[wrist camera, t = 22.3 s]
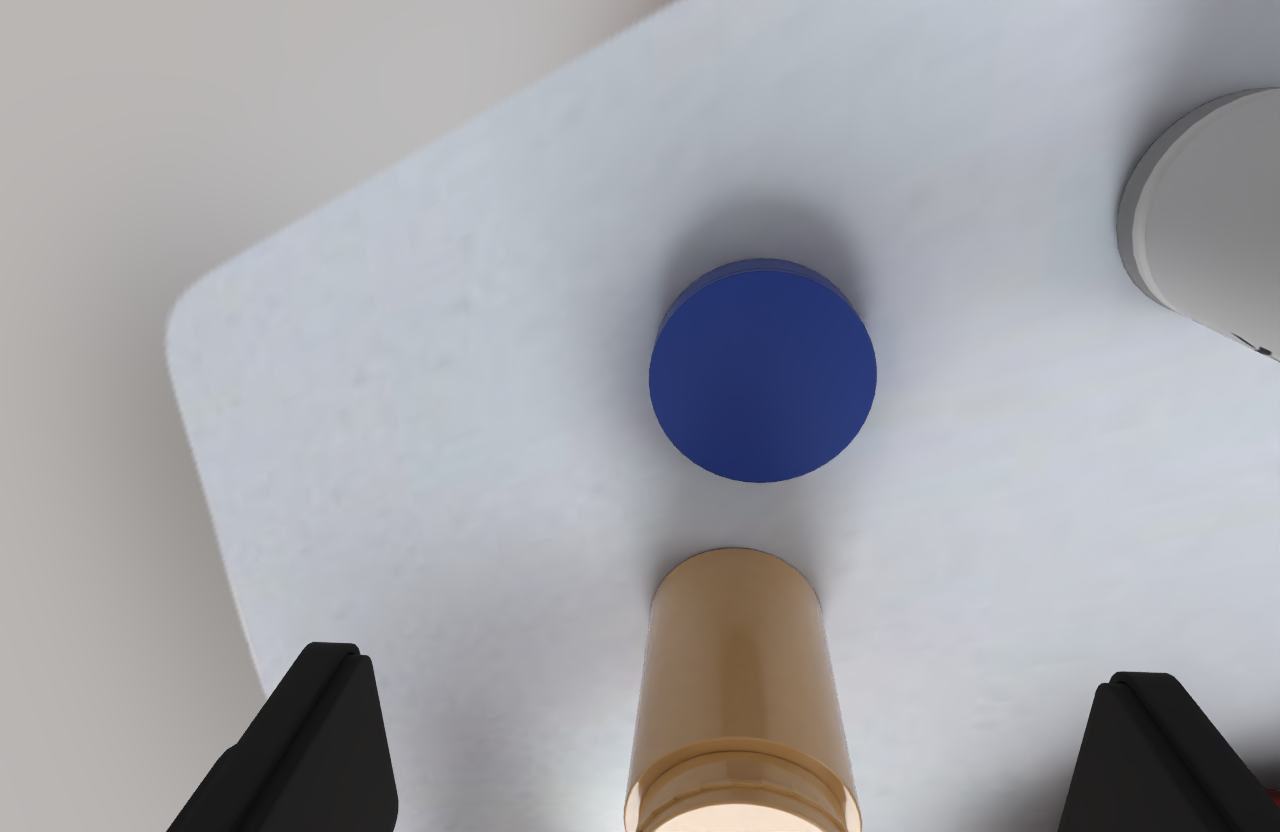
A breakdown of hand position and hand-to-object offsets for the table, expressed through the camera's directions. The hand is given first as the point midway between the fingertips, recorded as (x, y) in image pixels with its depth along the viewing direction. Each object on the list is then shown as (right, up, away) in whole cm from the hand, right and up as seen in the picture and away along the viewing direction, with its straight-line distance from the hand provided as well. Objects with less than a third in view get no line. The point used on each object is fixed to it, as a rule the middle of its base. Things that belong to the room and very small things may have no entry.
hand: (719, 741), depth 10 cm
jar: (+3, -3, +19) cm, 20 cm away
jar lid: (+3, +5, +14) cm, 15 cm away
